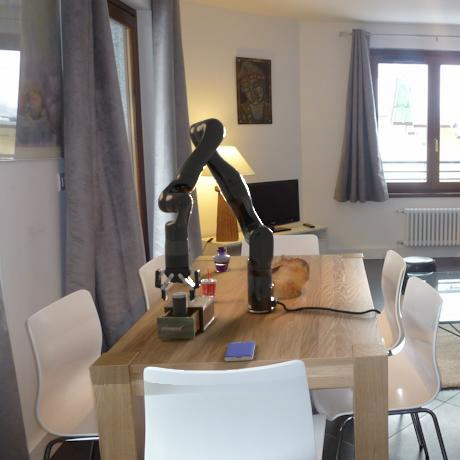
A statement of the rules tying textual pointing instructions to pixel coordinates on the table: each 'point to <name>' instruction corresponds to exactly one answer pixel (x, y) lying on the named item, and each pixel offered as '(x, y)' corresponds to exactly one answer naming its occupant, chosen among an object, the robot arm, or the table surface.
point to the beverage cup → (209, 287)
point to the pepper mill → (179, 304)
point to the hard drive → (240, 351)
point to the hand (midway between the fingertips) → (178, 300)
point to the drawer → (179, 325)
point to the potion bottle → (221, 259)
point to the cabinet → (203, 305)
